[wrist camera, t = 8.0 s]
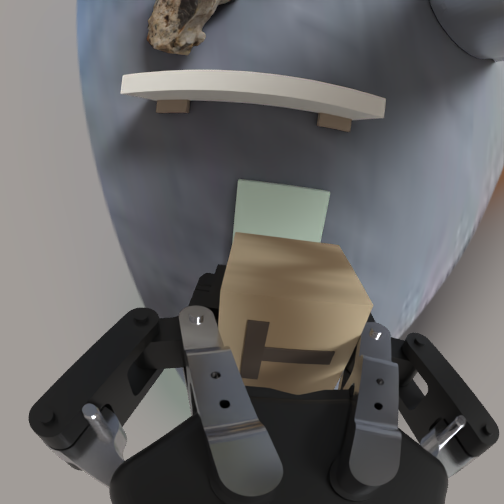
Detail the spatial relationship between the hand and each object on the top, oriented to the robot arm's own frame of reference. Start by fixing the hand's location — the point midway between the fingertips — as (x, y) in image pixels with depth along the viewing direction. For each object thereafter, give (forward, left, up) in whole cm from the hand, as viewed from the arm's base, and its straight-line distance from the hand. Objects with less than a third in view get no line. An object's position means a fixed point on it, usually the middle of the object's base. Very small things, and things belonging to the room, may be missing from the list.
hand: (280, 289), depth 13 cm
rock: (+8, -18, -10) cm, 22 cm away
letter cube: (0, 0, 0) cm, 0 cm away
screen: (+3, -10, -9) cm, 14 cm away
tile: (0, 0, -9) cm, 9 cm away
